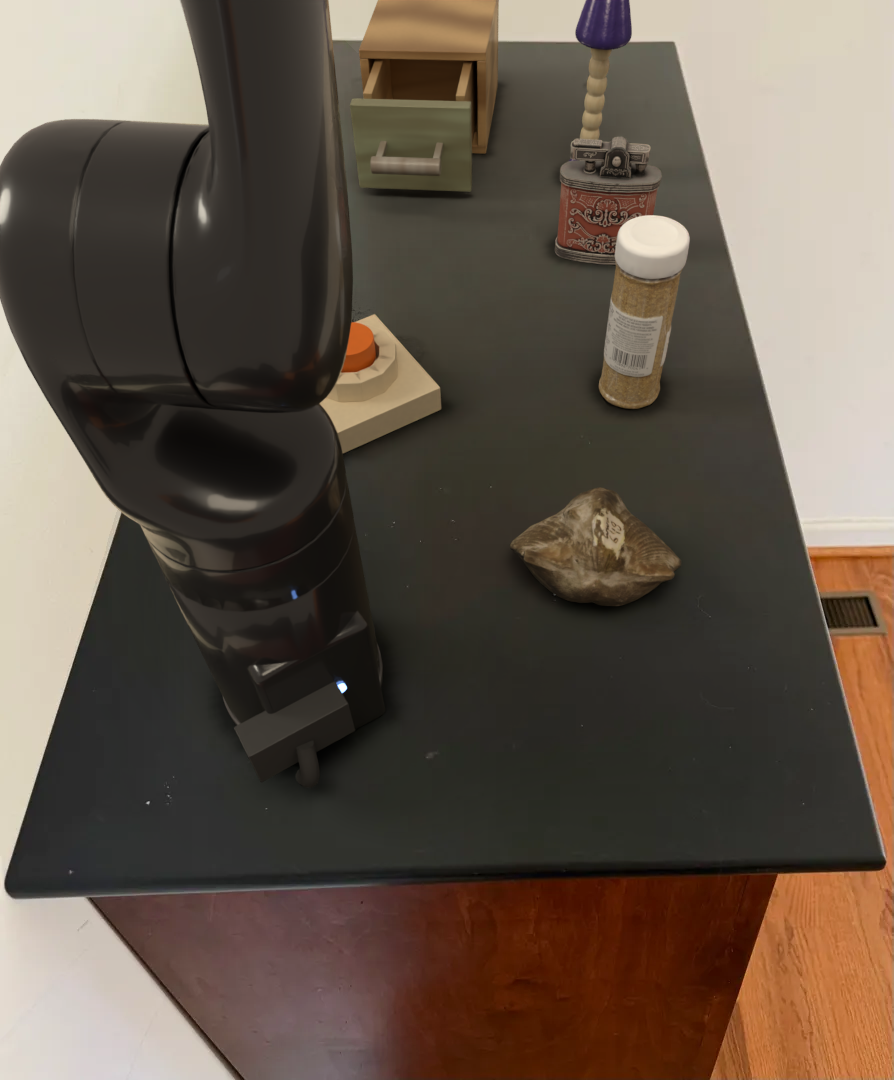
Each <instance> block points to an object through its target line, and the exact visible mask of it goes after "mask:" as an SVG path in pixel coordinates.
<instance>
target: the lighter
mask: <svg viewBox="0 0 894 1080" xmlns="http://www.w3.org/2000/svg"><path fill="white" fill-rule="evenodd" d="M569 153H570V154H569V158H570V159H573V160H577V161H569V160H568V161H566V162H564V163H563V164H562V165H561V166H560V168H559V181H560V182H561V184H560V197H559V200H560V201H559V213H558V226H557V236H556V238H555V241H554V252H555V254H556V255H557V256H558V257H559V258H561V259H566V260H571V261H575V262H581V263H588V264H598V265H616V263H615V248H616V241H617V235H618V231H619V229H620V228H621V226H622V225H623V224H624V223H626V222H627V221H629V220H631V219H633V218H636V217H639V216H646V215H654V213H655V207H656V201H657V194H658V189H659V188H660V186H661V183H662V177H663V173H662V171H661V170H660V169H659V168H658V167H656V166H654V165H650V164H648V163H649V161H650V154H651V146H650V145H649V144H648V143H647V144H645V143H633V142H632V143H630V142H629V141H628V139H627V138H626V137H624V136H614V137H612V139H611V140H610V141H603V140H602V139H598V140H593V139H580V138H574V140H573V141H571V143H570V152H569Z"/></svg>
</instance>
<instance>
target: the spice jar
mask: <svg viewBox="0 0 894 1080" xmlns="http://www.w3.org/2000/svg"><path fill="white" fill-rule="evenodd" d="M690 241H691V238H690V234H689V231H688V229H687V228H686V227H685V226H684V225H683V224H682V223H680V221H679V222H678V221H677V220H675V219H673V218H671V217H668V216H663V215H654V214H653V215H646V216H639V217H636V218H633V219H631V220H629V221H627V222H626V223H624V224H623V225H622V226H621V228H620V229H619V231H618V235H617V241H616V248H615V263H616V264H615V270H614V277H613V286H612V291H611V295H610V300H609V301H610V302H609V310H608V318H607V323H606V333H605V338H604V347H603V348H604V349H603V361H602V362H603V363H602V370H601V376H600V378H599V383H598V390H599V393H600V394H601V396H602V398H604V400H605V401H606V402H607V403H609V404H611V405H612V406H615V407H619V408H622V409H629V410H638V409H642V408H645V407H647V406H650V405H651V404H653V403H654V402H655V401H656V400H657V398H658V396H659V394H660V391H661V377H662V373H663V367H664V363H665V361H666V359H667V358H666V357H667V353H668V348H669V342H670V336H671V331H672V322H673V316H674V311H675V307H676V300H677V295H678V292H679V285H680V280H681V273H682V271H683V269H684V268H685V266H686V264H687V259H688V254H689V248H690Z"/></svg>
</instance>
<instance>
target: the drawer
mask: <svg viewBox="0 0 894 1080" xmlns="http://www.w3.org/2000/svg"><path fill="white" fill-rule="evenodd" d="M362 97H363V98H357V97H356V98H351V101H350V103H349V109H350V118H351V119H350V120H351V126H352V135H353V144H354V153H355V159H356V168H357V176H358V184H359V185H358V186H359V188H360V189H385V190H386V189H387V190H410V191H411V190H414V191H437V192H438V191H441V192H472V188H473V153H472V142H473V136H474V131H475V126H476V121H477V66H476V61H459V60H413V59H375V62H374V64H373V67H372V70H371V73H370V76H369V78H368V81H367V84H366V87H365V90H364V92H363V91H362Z"/></svg>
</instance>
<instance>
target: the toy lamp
mask: <svg viewBox="0 0 894 1080" xmlns="http://www.w3.org/2000/svg"><path fill="white" fill-rule="evenodd" d="M632 28H633V26H632V15H631V1H630V0H585V1H584V4H583V7H582V8H581V12H580V15H579V18H578V20H577V24H576V26H575V38H576V41H578V42H579V43H580V44H581V45H583V46H585V47H586V48H589V49H590V54H591V58H590V59H589V61H588V72H589V75H588V77H587V80H586V91H587V92H586V94H585V96H584V111H583V113H582V118H581V119H582V120H581V122H582V127H581V130H580V134H579V139H593V140H600V127H601V125H602V121H603V112H602V110H603V109H604V106H605V102H606V101H605V100H606V98H605V93H606V90H607V86H608V78H607V75H608V73H609V72H610V71H609V70H610V65H611V64H610V58H609V57H610V56H611V54H612V51H613V50H617V49H621V48H622V47H626V46H627V45H628V44H629V42H631V39H632V37H633V36H632V35H633V29H632ZM568 161H577V160H573V159H571V158H570V159H569V160H568Z"/></svg>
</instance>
